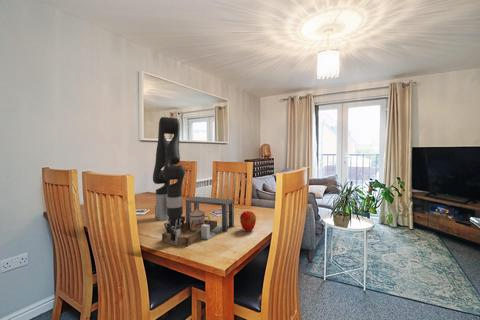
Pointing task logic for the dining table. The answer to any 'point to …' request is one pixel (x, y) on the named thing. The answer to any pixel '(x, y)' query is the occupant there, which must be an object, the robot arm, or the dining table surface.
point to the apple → (248, 220)
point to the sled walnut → (182, 239)
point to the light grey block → (206, 232)
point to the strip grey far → (217, 229)
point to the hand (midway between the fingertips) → (175, 239)
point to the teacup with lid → (197, 220)
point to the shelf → (213, 202)
